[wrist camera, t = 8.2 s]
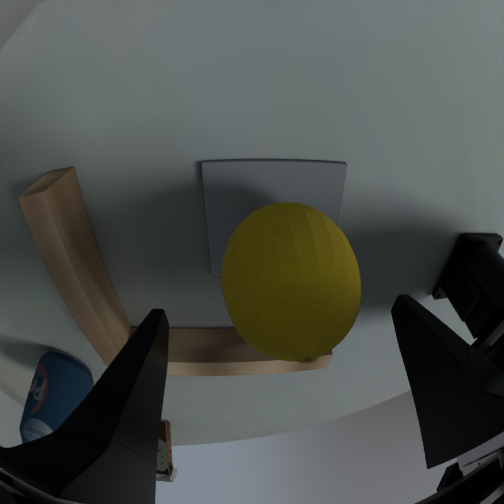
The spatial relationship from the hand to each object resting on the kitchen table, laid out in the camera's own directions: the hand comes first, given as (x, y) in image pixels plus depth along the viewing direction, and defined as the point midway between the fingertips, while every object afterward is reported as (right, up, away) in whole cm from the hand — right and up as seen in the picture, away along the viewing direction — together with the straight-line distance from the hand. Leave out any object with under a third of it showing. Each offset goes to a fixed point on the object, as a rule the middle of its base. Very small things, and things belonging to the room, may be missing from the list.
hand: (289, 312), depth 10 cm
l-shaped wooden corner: (-4, 0, +7) cm, 8 cm away
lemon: (0, +4, +5) cm, 6 cm away
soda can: (-22, -10, +14) cm, 28 cm away
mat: (0, +4, +5) cm, 6 cm away
